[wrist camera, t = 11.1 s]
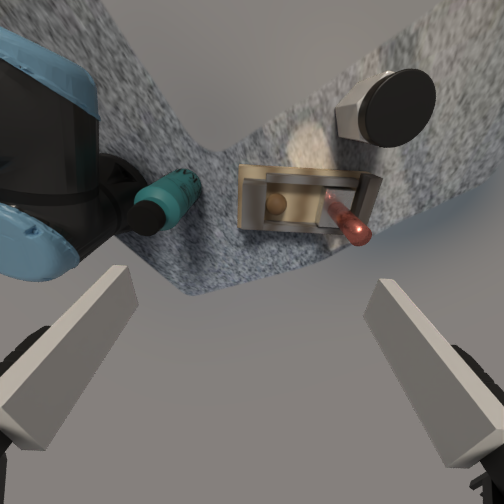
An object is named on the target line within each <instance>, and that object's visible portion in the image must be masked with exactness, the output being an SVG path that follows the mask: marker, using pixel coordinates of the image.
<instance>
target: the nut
mask: <svg viewBox="0 0 504 504" xmlns="http://www.w3.org/2000/svg"><path fill="white" fill-rule="evenodd" d="M265 207H266V210H267V211H268V212H269V213H270V214H272V215H280V214H282V213H283V212H284V211H285V210H286V207H287V201H286V199H285V197H284V196H283V195H281V194H278V193H274V194H271V195H270V196H269V197H268V198H267V199H266V202H265Z"/></svg>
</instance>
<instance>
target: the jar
mask: <svg viewBox="0 0 504 504" xmlns="http://www.w3.org/2000/svg"><path fill="white" fill-rule="evenodd" d="M435 101H436V90H435V86H434V83H433V81H432V79H431V78H430V76H429V75H428V74H426V73H425V72H423V71H421V70H418V69H404V70H401V71H398V72H392V71H386V72H383V73H381V74H378V75H375V76H373V77H370V78H368V79H365V80H363V81H360V82H358V83H357V84H356V85H355V86H354V87H353V88H352V89H351V91H350V92H349V93H348V94H347V95H346V96H345V97H344V98H343V99H342V100H341V102H340V103H339V104H338V105H337V106H336V107H335V111H336V119H337V127H338V135H339V137H341V138H345V139H350V140H354V141H358V142H362V143H367V144H372V145H376V146H379V147H383V148H392V147H397V146H401V145H403V144H405V143H407V142H409V141H411V140H412V139H413V138H415V137H416V136H417V135H418V134H419V133H420V132H421V131H422V130H423V128H424V127H425V126H426V124H427V123H428V121H429V119H430V117H431V115H432V113H433V110H434V107H435Z"/></svg>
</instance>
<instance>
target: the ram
mask: <svg viewBox="0 0 504 504" xmlns="http://www.w3.org/2000/svg"><path fill="white" fill-rule="evenodd" d="M354 194H355V191H354V190H353V189H351V188H350V187H341V186H323V185H322V189H321V193H320V198H319V203H318V208H317V213H316V217H315V222H316V223H317V225H318V227H333V228H340V230H341V231H342V232H343V234H344V235H345V236H346V237H347V239H348V240H349V241H350V243H351V244H352V245H354V246H362V245H365V244H366V243H368V242H369V240H370V239H371V237H372V232H371V230H370V229H369V228H368V227H367V226H366V225H365V224H364V223H363V222H362V221H361V220H360V219H359V218H357V217H356V216H355V215H354V214H353V213H352V212H351V211H350V208H351V204H352V201H353V197H354Z"/></svg>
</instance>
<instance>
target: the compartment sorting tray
mask: <svg viewBox="0 0 504 504" xmlns="http://www.w3.org/2000/svg"><path fill="white" fill-rule="evenodd" d="M382 180H383V178H380V177H378V176H376V175H374V174H371V173H369V172H365V171H348V170H330V169H313V168H296V167H278V166H261V165H243V164H239V177H238V226H237V228H241V229H247V230H265V231H283V232H302V233H320V234H339V235H344V234H343V232H342V231H341V230H340V228H333V227H318V225H317V223H316V222H315V217H316V213H317V208H318V203H319V198H320V193H321V189H322V185H323V186H341V187H350V188H351V189H353V190H354V191H355V194H354V197H353V201H352V204H351V208H350V211H351V212H352V213H353V214H354V215H355V216H356V217H357V218H359V219H360V220H361V221H362V222H363V223H364V224H365V225H366V226H367V224H368V221H369V218H370V215H371V212H372V209H373V206H374V203H375V200H376V198H377V195H378V192H379V189H380V186H381V183H382ZM274 193H278V194H281V195H283V196H284V197H285V199H286V201H287V207H286V210H285V211H284V212H283V213H282V214H280V215H272V214H270V213H269V212H268V211H267V210H266V207H265V202H266V199H267V198H268V197H269V196H270V195H271V194H274Z"/></svg>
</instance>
